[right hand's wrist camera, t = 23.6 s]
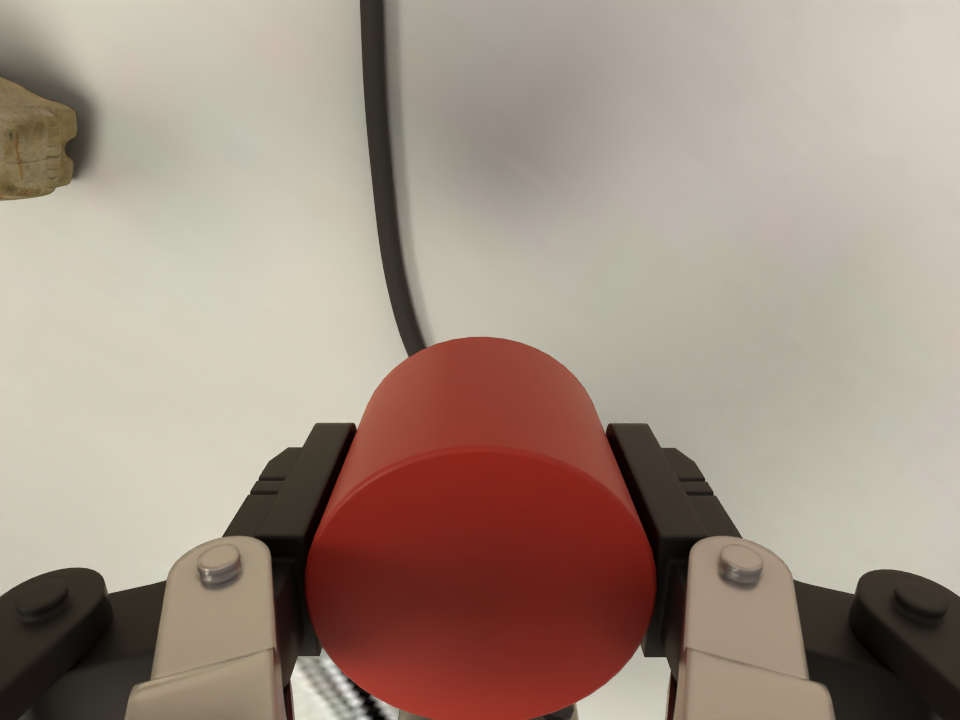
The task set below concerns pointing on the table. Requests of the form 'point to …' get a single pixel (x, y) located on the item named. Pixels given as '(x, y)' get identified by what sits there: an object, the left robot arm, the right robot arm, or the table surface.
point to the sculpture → (33, 143)
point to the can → (480, 541)
